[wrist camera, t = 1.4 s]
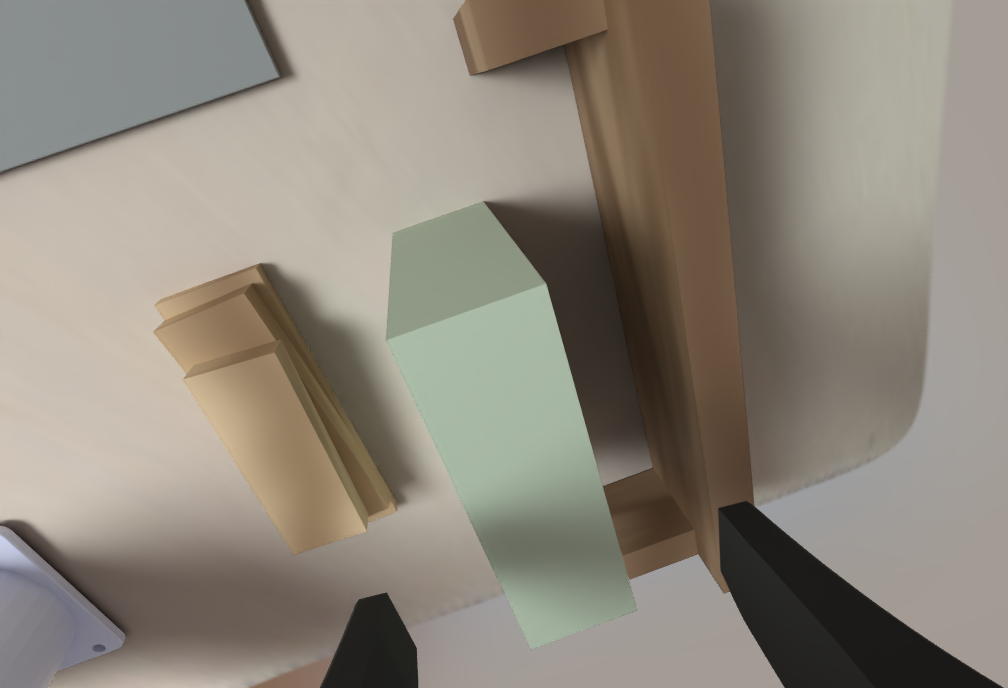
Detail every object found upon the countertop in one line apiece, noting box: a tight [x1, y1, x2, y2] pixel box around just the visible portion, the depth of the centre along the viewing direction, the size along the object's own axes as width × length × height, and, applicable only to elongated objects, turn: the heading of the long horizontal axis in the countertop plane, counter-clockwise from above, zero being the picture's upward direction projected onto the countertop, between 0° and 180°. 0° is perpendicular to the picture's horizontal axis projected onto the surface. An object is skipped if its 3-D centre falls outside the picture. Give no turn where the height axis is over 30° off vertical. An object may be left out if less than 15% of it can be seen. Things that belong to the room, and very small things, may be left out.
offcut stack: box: [153, 264, 397, 555], centre depth 20 cm, size 4×12×3 cm, turn 18°
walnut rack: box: [453, 0, 754, 593], centre depth 18 cm, size 5×22×6 cm, turn 17°
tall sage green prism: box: [386, 202, 637, 650], centre depth 17 cm, size 3×11×9 cm, turn 17°
